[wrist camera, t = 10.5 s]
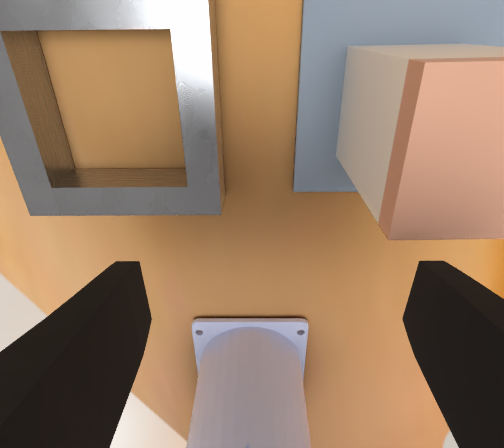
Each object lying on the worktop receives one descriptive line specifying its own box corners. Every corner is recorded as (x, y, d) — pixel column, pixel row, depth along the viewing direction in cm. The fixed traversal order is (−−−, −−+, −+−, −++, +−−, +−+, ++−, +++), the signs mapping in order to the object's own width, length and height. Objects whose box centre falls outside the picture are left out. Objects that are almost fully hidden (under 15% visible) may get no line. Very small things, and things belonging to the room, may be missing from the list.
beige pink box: (434, 154, 18) (552, 238, 11) (335, 155, 18) (388, 240, 11) (462, 43, 15) (639, 58, 8) (347, 45, 15) (425, 62, 8)
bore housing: (225, 193, 19) (221, 214, 17) (55, 194, 19) (30, 215, 17) (214, -14, 14) (206, -21, 12) (-11, -11, 15) (-57, -17, 12)
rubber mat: (457, 188, 19) (461, 191, 19) (292, 189, 19) (293, 192, 19) (519, -10, 14) (526, -11, 14) (303, -8, 14) (304, -8, 14)
